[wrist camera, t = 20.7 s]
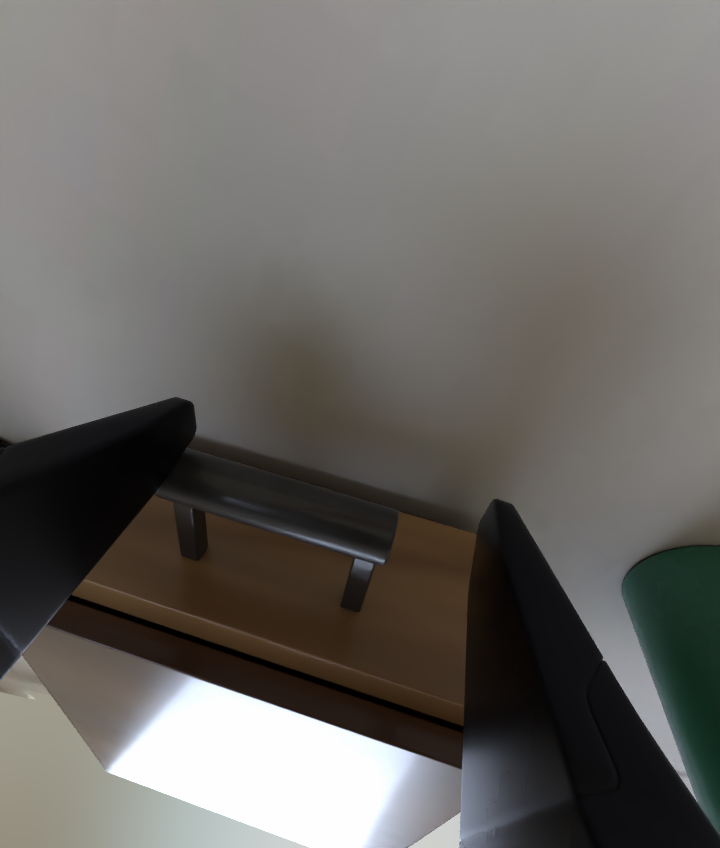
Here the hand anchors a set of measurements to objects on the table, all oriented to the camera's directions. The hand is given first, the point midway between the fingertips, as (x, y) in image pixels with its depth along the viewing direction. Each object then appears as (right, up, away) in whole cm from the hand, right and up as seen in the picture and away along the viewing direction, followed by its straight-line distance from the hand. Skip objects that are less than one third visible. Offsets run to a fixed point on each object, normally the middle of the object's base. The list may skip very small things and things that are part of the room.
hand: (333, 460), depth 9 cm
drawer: (-2, -6, +9) cm, 11 cm away
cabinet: (-3, -9, +12) cm, 15 cm away
